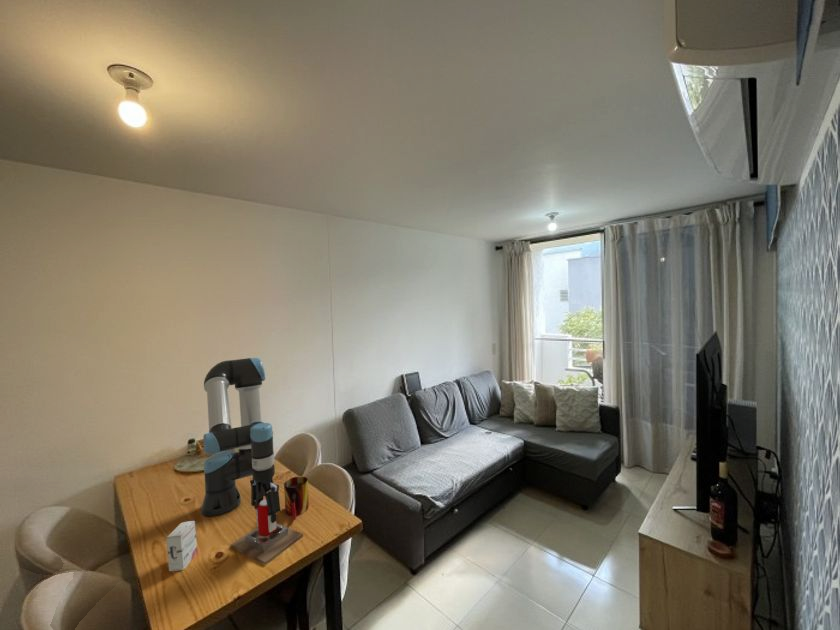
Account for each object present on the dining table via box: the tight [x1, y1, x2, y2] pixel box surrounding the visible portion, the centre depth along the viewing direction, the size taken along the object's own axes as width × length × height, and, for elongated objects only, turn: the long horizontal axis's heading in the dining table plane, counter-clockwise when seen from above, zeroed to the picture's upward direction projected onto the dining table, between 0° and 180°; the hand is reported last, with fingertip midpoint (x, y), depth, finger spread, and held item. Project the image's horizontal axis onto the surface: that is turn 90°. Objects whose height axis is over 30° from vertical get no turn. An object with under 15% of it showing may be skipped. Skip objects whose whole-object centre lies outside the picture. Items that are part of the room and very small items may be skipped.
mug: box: [283, 476, 310, 521], centre depth 144 cm, size 10×14×12 cm
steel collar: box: [245, 522, 289, 552], centre depth 125 cm, size 10×10×3 cm
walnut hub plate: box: [230, 522, 304, 566], centre depth 125 cm, size 20×16×1 cm
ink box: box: [165, 520, 198, 572], centre depth 117 cm, size 9×5×12 cm, turn 5°
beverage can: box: [257, 498, 277, 537], centre depth 126 cm, size 6×6×12 cm
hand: (266, 527), depth 125 cm, fingers closed on beverage can, 6 cm apart
